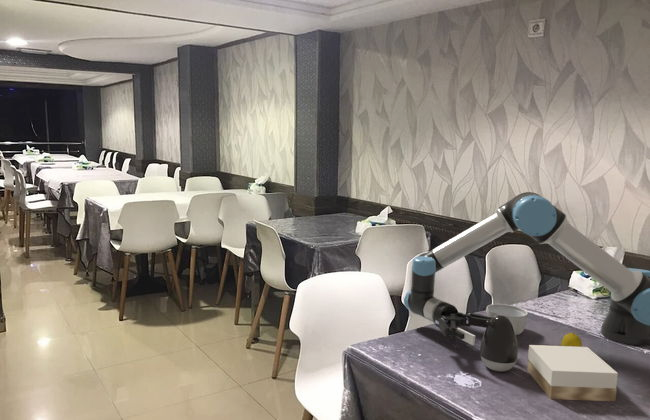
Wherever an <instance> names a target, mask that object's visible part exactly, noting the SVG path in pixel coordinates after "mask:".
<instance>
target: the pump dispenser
mask: <svg viewBox="0 0 650 420" xmlns="http://www.w3.org/2000/svg"><path fill="white" fill-rule="evenodd" d="M486 324H487V325H488V326H487V328H486V329H485V330H484V333H483V335H482V338H481V342H480V348H479V354H480V358H481V361H482V363H483V364H484V365H485V367H487V368H488V369H489V370H492V371H493V372H507V371H510V370H511V369H512V368H514V366H515V365H516V363H517V361H518V359H519V350H518V348H519V347H518V339H517V335H516V334H515V331H514V328H513V325H512V323H511V321H510V320H509V319H508V318H507V317H505V316H503V315H498V316H495V317H494V318H493V319H492V320H491V321H488V320H487V321H486Z"/></svg>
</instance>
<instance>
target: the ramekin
mask: <svg viewBox="0 0 650 420" xmlns="http://www.w3.org/2000/svg"><path fill="white" fill-rule="evenodd" d="M485 312H486V316H488V317H495V316H498V315H503V316H505V317H507V318H508V319H509V320H510V321H511V323H512V325H513V328H514V331H515V334H516V336H517V335H520V334H522V333H523V332H524V330H525V326H526V322H527V319H528V315H529V313H528V311H527V310H526V309H524V308H522V307H520V306H516V305H512V304H506V303H504V304H503V303H491V304H489V305H487V306H486V309H485Z"/></svg>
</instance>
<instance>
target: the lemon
mask: <svg viewBox="0 0 650 420" xmlns="http://www.w3.org/2000/svg"><path fill="white" fill-rule="evenodd" d="M560 346H572V347H583V342H582V339H581V338H580V336H579V335H577V334H576V333H574V332H571V333H570V332H569V333H566V334H565V335H564V336H563V337H562V340H561V343H560Z"/></svg>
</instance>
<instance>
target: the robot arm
mask: <svg viewBox="0 0 650 420" xmlns="http://www.w3.org/2000/svg"><path fill="white" fill-rule="evenodd" d="M518 230H519V231H521V232H522V233H523V234H526V235H528V236H529V237H530V238H532V239H533V240H534V241H536V242H538V244H540V245H542V244H548V245H549V246H551V247H552V249H554V250H556V251H557V252H559V254H560V255H562V256H563V257H565V258H566V259H567V260H568V261H570V262H571V263H573V265H575V266H576V267H578V268H579V269H580V270H582V272H583V273H585V274H586V275H588V276H589V277H590V278H592V279H593V280H595V281H596V282H597V283H598V284H600V285H601V286H603V288H605V289H606V290H607V291H609V292H610V300H609V310H608V313H607V315H606V316H605V318H604V320H603V321H602V322H603V323H602V324H601V326H600V327H601V329H600V333H601V334H602V336H604V337H605V338H607V339H609V340H612V341H615V342H618V343H622V344H625V345H632V346H650V270H647V269H641V268H631V267H626V266H625V265H624V264H623V263H621V262H620V261H619V260H618V259H616V257H615V258H614V257H613V256H612V255H611V254H610V253H608V252H607V251H606V250H605V249H602V247H601V246H599V245H598V244H596V243H595V242H594V241H593V240H591V239H590V238H589V237H587V236H586V235H584V234H583V233H582V232H581V231H579V230H578V229H576V227H574V226H573V225H572V224H570V223H569V222H568V219H567V214H566V213H564V212H563V211H562V210H560V209H559V208H558V207H557V206H555V205H553V204H552V202H550V200H549V199H547V198H545V197H543V196H542V195H540V194H538V193H536V192H531V191H527V192H526V191H525V192H522V193H519V194H517V195H515V196H514V197H513V198H511V199H510V200H508V201H507V202H505V203H503V204H502V205H500V206H499V207H497V208H496V212H495V213H493V214H491V215H489V216H487V217H486V218H484V219H483V220H481V221H479V222H478V223H475V224H473V225H472V226H470V227H469V228H467V229H465V230H463V231H462V232H460V233H458V234H457V235H455V236H453V237H451V238H449V239H448V240H446V241H445V242H442V243H441V244H439V245H438V246H436V247H435V248H433V249H431V250H428V251H427V252H423V253H421V254H419V255H418V256H416V257H414V258H413V259H412V266H411V288H410V290H408V291H406V293H405V296H404V298H403V304H404V306H405V308H406V309H407V310H409V311H411V312H412V314H415V315H419V317H422V318H423V319H426V320H428V321H430V322H432V323H433V324H434V325H435V327H437V328H439V330H440V331H441V333H442V334H443V336H444V337H445V338H450V339H451V340H456V338H458V339H459V340H460V341H461V340H462V341H463V342H465V343H467V344H469V345H471V346H475V344H476V335H475V334H473V333H470V332H469V331H466V330H465V329H462V328H461V327H468V328H469V327H471V326H472V327H479V328H480V327H481V328H487V326H488V325H487V324H486V321H487V320H488V321H491V320H492V319H493V318H494V317H488V316H487V315H483V314H479V313H474V312H471V311H466V313H463V312H459V311H458V309H457V307H456V306H455V305H454V304H451V303H448V302H446V301H444V300H442V299H440V298H437V297H435V296H434V295H435V293H434V292H435V282H436V279H435V278H436V273H437V272H438V273H439V271H441V270H443V269H445V268H446V267H447V266H449V265H451V264H453V263H454V262H455V263H456V262H457V261H458V260H460V259H462V258H464V257H465V256H467V255H469V254H471V253H473V252H475V251H476V250H478V249H479V248H481V247H483V246H485V245H487V244H489V243H491V242H492V241H494V240H495V239H498V238H500V237H501V236H502V235H505V234H506V233H515V232H517V231H518Z"/></svg>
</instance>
